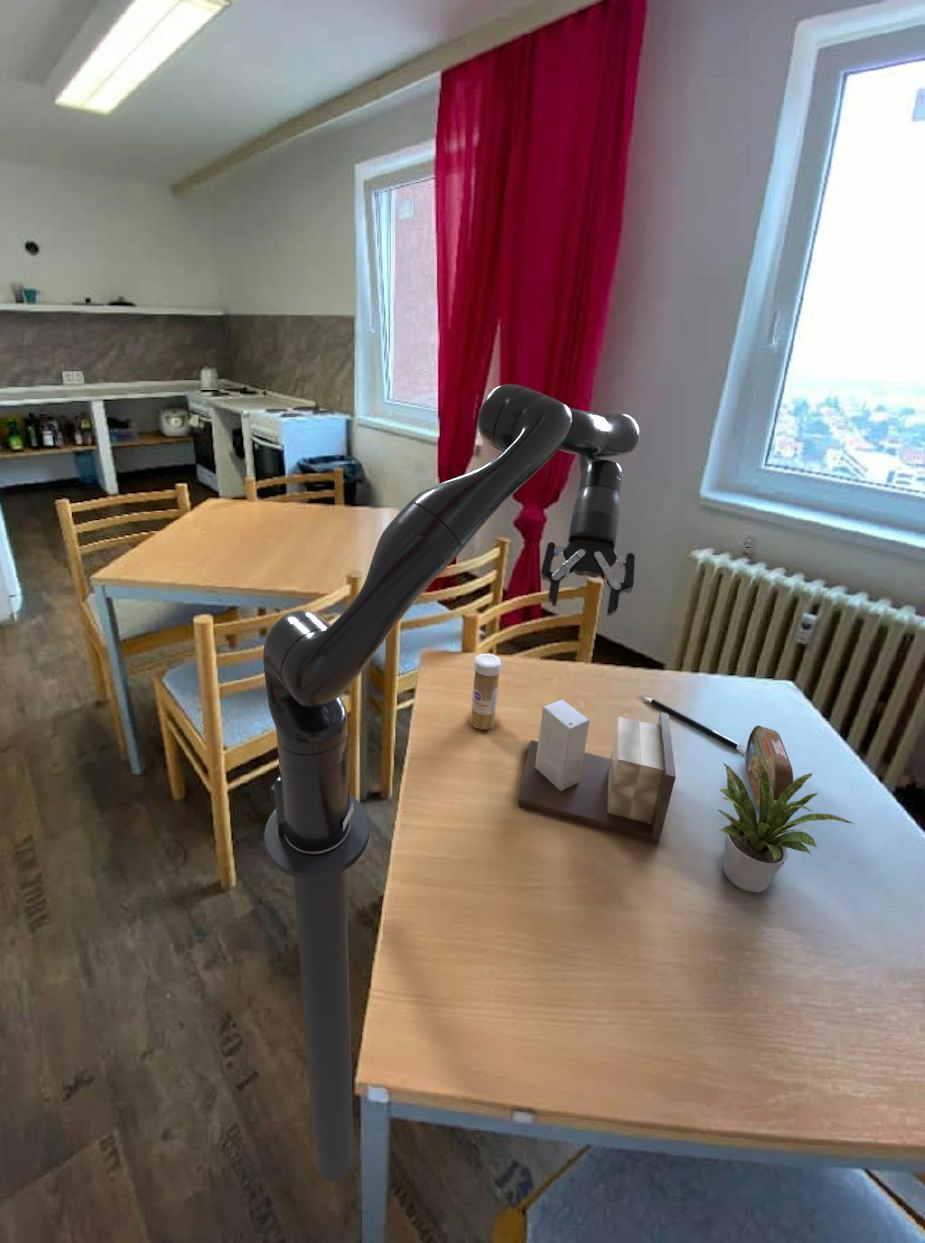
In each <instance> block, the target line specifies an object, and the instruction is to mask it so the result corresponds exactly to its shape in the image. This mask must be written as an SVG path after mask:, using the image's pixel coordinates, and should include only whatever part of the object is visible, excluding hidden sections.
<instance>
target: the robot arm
mask: <svg viewBox="0 0 925 1243" xmlns="http://www.w3.org/2000/svg"><path fill="white" fill-rule="evenodd" d="M477 428H478V433H479V435H480V437H481V438H482V440H483V441H484V442H485V443H487V444H488V445H490V446H491V447H492V448H493V449H496V450H498V451H500V452H501V453H500V454H498V455H497V456H496V457H495V458H494V459H492V460H491V461H490V462H489V463H487V464H485V465H484V466H482V467H480V468H478V469H476V470H473V471H472V472H471V471H470V472H469V473H466V474H463V475H460V476H457V477H455V478H452V479H449V480H446V481H444V482H443V481H442V482H441V483H439V484H438V483H437V484H435V485H433V486H431V487H429V488H427V489H425V490H423V491H421V492H420V493H418V494H416V496H414V497H413V498H412V499H411V500H410V501H409V502H407V504H406V505H405V507H403V508H402V509H401V510H400V512H399V513H398V514H397V515H396V516H395V517H394V518H393V519H392V520H391V521H390V523H389V524H388V525H387V526H386V528H384V530H383V531H382V533H381V535H380V537H379V539H378V541H377V544H376V547H375V548H374V553H373V556H372V559H371V562H370V565H369V568H368V572H367V574H366V578H365V580H364V582H363V585H362V586H361V588H360V591H359V592H358V594H357V595H356V597H354V599H353V601H352V602H351V603H350V604H349V605H348V607H346V609H345V610H344V611H343V612H342V613H341V614H340V616H339V617H338V618H336V619H335V621H333V622H332V624H330V623H329V622H328V621H327V620H326V619H324V618H323V617H322V616H321V615H319V614H318V613H316V612H313V611H309V610H295V611H292V612H289V613H287V614H285V615H284V616H282V617H280V618H279V619H278V620H276V622H275V623H274V624H273V626H271V628H270V630H269V632H268V634H267V635H266V638H265V641H264V645H263V653H262V661H263V663H262V664H263V673H264V681H265V689H266V697H267V703H268V710H269V713H270V716H271V718H272V721H273V725H274V727H275V734H276V742H277V743H276V744H277V745H276V746H277V756H278V769H279V775H278V777H277V778H276V779H275V780H274V783H273V785H272V786H271V787H270V788H269V790H270V791H269V792H270V802H271V803H275V809H276V812H277V823H278V835H279V836H281V837H284V838H285V840H286V842H287V844H288V845H289V847H290V848H291V849H293V850H294V851H296V852H297V853H300V854H303V855H307V856H320V855H324V854H328V853H330V852H332V851H334V850H336V849H337V848H339V847H340V846H341V845H342V844H343V843H344V842H345V841H346V839H347V837H348V835H349V833H350V829H351V819H350V817H351V815H352V813H353V811H354V808H353V804H352V806H351V808H350V795H351V793H350V761H349V760H350V759H349V758H350V756H349V718H348V710H347V708H346V705H345V704H344V701H343V699H342V697H341V696H342V695H343V694H344V693H346V692H347V690H348V689H349V688H350V687H351V686H352V685H353V684H354V683H355V681H356V680H357V679H358V677H359V676H360V675H361V674H362V672H363V671H364V670H365V668H366V667H367V665H368V664H369V662H371V660H372V658H373V657H374V656H375V654H376V653H377V651H378V650H379V649H380V647H381V646H382V644H383V643H384V641H385V640H386V639H388V638H387V637H388V636H389V635H390V634H391V633H392V631H393V629H394V628H395V627H396V626H397V625H398V623H399V622H400V621H401V620H402V619H403V618H404V616H405V615H407V613H408V612H409V610H410V609H411V608H412V607H413V606H414V605H415V603H416V602H417V601H418V600H419V598H420V597H421V596H422V595H423V594H424V592H426V590H427V589H428V588H429V586H431V585H432V584H433V582H434V581H435V580H436V579H437V578H438V577H439V576H440V575H441V574H442V573H443V572H444V571H445V570H446V569H447V568H448V566H450V564H451V563H452V562H453V561H454V560H455V559H456V558H457V556H458V555H459V554H460V553H461V552H462V551H463V550H464V549H465V547H466V546H467V545H468V544H469V543H470V541H471V540H472V539H473V538H474V536H476V534H477V533H478V532H479V530H480V529H481V528H482V527H483V526H484V525H485V524H486V523H487V522H488V521H489V519H490V518H491V517H493V515H494V514H495V513H496V512H497V511H498V510H499V508H501V506H502V505H504V504H505V503H506V501H507V500H509V498H511V497H512V496H513V495H514V494H515V493H516V492H517V491H518V490H519V489H520V488H522V486H524V484H525V483H526V482H528V481H529V480H530V479H531V478H532V477H534V475H535V474H536V473H538V471H539V470H540V469H542V467H544V466H545V464H547V463H548V462H549V461H550V460H551V459H552V457H554V455H555V454H556V453H557V452H558V451H559V452H563V453H566V454H571V455H577V456H578V460H579V462H578V463H579V479H578V480H579V481H578V485H577V492H576V496H575V500H574V504H573V506H572V507H573V509H572V513H571V520H570V525H569V531H568V532H569V533H568V539H567V543H566V545H565V546H560V545H556V544H555V542H553V541H549V542H548V543H547V545H546V550H545V554H544V558H543V562H542V566H541V572H540V576H541V579H542V580H544V581H547V582H549V584H550V585H549V590H548V591H549V592H548V602H549V603H551V606H552V607H557V605H558V598H559V592H560V586H561V582H563V581H564V580H565V579H567V578H568V577H569V576H571V575H572V574H573V573H574V574H576V576H580V577H583V576H587V577H590V578H594V579H596V578H597V577H600V578H601V580H602V581H603V583H604V584H605V585H606V586H607V588H608V590H609V595H608V603H607V610H606V616H607V617H608V616H609V617H612V616H613V614H616V613H617V611H618V608H619V600H620V595H621V594H624V593H626V594H630V593H631V592H632V590H633V588H634V582H635V562H636V561H635V558H636V555H635V554H634V553H632V552H629V553H627V554H619V553H618V554H617V552H616V543H617V535H618V528H619V522H620V511H621V502H620V501H621V493H622V485H623V478H624V477H623V469H622V467H621V466H620V464H618V463H617V462H615V461H613V460H609V459H607V458H613V457H619V456H625V455H629V454H630V453H632V452H633V451H634V450H635V449H636V448H637V446H638V444H639V442H640V438H641V437H640V436H641V435H640V428H639V426H638V424H637V422H636V420H635V419H634V418H632V417H631V416H630V415H629V414H625V413H600V414H599V413H595V412H590V411H586V410H581V409H577V408H573V407H568V406H567V405H566V404H564V403H563V402H561V401H560V400H558V399H557V398H554V397H552V396H550V395H547V394H545V393H542V392H539V391H537V390H536V389H535V390H534V389H532V388H531V387H528V386H525V385H522V384H517V383H505V384H501V385H499V386H498V387H496V388H494V389H493V390H492V391H491V392H490V393H489V394H488V395H487V396H486V397H485V400H484V401H483V403H482V404H481V407H480V410H479V412H478V417H477ZM560 555H563V557H564V559H565V562H564V563H563V564H562V565H560V567H559V568H558V569H557V570H556V571H555V572H552V571H551V570H552V565H553V561H554V560H557V559H558V558H559V556H560ZM615 563H618V564H619V567H620V568H621V569H623V570H624V572H623V574H624V575H623V582H620V581H619V580H618V578H617V577H616V575H615V572H614V571H613V569H612V567H613V565H615Z"/></svg>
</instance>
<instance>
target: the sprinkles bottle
mask: <svg viewBox="0 0 925 1243" xmlns="http://www.w3.org/2000/svg"><path fill="white" fill-rule="evenodd" d="M473 668H474V677H473V689H472V697H471V713H470V719H469V721H470V723H471V725H472V726H473V727H474V728H476V729H477V730H483V731H485V730H489V729H491V728H494V726H495V724H496V711H497V704H498V703H497V702H498V694H499V679H500V673H501V670H502V660H501V659H500V657H499V656H497V655H495V654H492V653H481V654H478V655H477V656H476V657H475V659H474V666H473Z"/></svg>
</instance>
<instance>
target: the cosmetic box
mask: <svg viewBox="0 0 925 1243" xmlns="http://www.w3.org/2000/svg"><path fill="white" fill-rule="evenodd" d="M589 726H590V719H588V718H587V717H586V716H585V715H583V714H582V713H581V712H579V711H578V710H577V709H575V708H574V707H572V705H570V704H569V703H567V702H566V701H565V700H563V699H559V700H557V701H555V702H552V703H550V704H547V705H544V706H543V707H542V711H541V719H540V728H539V735H538V749H537V756H536V764H535V768H536V769H537V770H538V771H539V772H541V773H542V774H543V775H544V776H545V777H546V778H547V779H548V780H549V781H550V782H551V783H552V784H553V785H554V786H555V787H556V788H558V789H559V790H560V791H562V790H564V789H566V788H568V787H570V786H572V785H574V784H576V783H578V782H579V781H580V775H581V770H582V763H583V757H584V753H585V751H586V745H587V739H588V733H589Z"/></svg>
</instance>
